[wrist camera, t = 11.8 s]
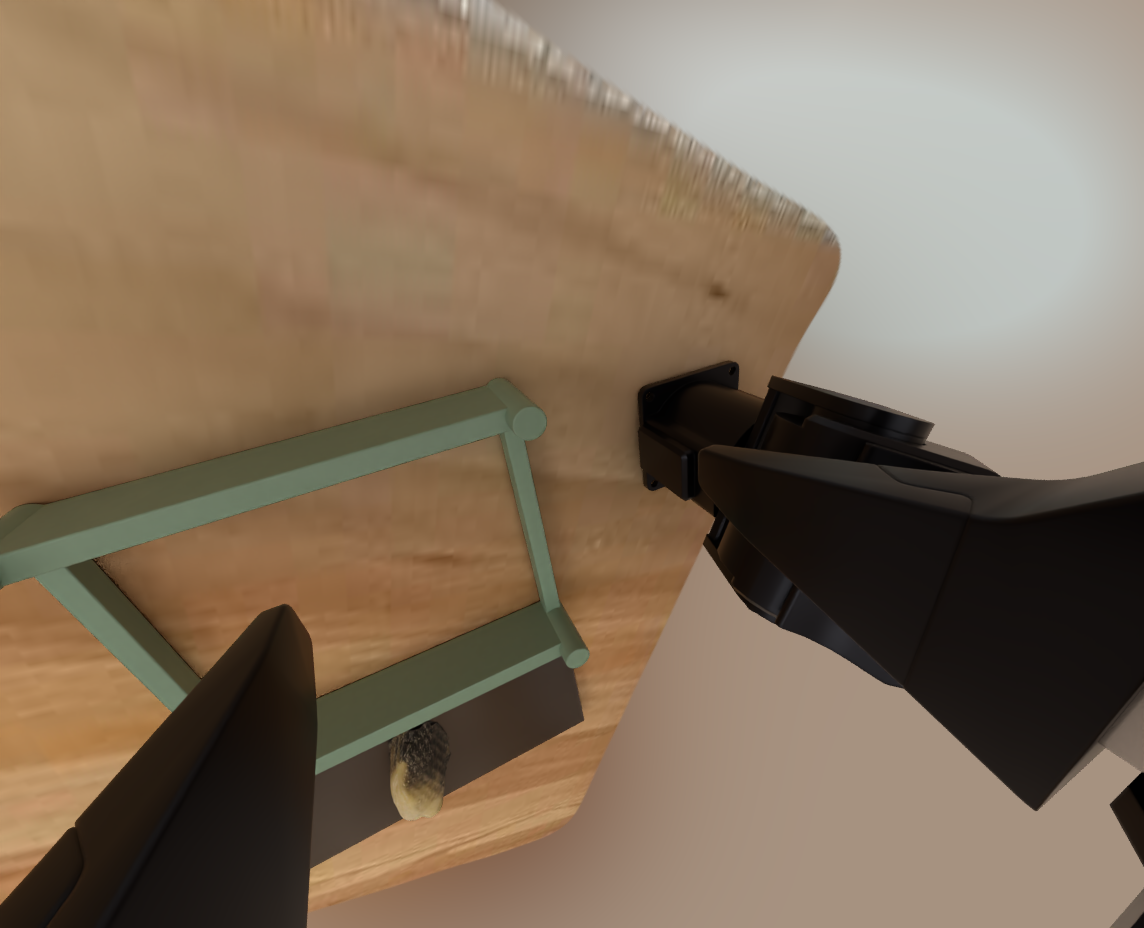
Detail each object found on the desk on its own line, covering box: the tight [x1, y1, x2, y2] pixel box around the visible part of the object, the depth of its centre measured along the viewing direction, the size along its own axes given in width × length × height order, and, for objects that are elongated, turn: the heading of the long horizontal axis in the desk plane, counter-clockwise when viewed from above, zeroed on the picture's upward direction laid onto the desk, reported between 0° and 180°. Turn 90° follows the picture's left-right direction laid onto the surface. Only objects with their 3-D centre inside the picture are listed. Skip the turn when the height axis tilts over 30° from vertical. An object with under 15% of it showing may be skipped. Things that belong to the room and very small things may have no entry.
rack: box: [0, 378, 589, 775], centre depth 19 cm, size 18×15×4 cm
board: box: [310, 656, 584, 869], centre depth 27 cm, size 22×10×1 cm, turn 99°
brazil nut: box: [388, 722, 451, 821], centre depth 26 cm, size 6×5×3 cm
